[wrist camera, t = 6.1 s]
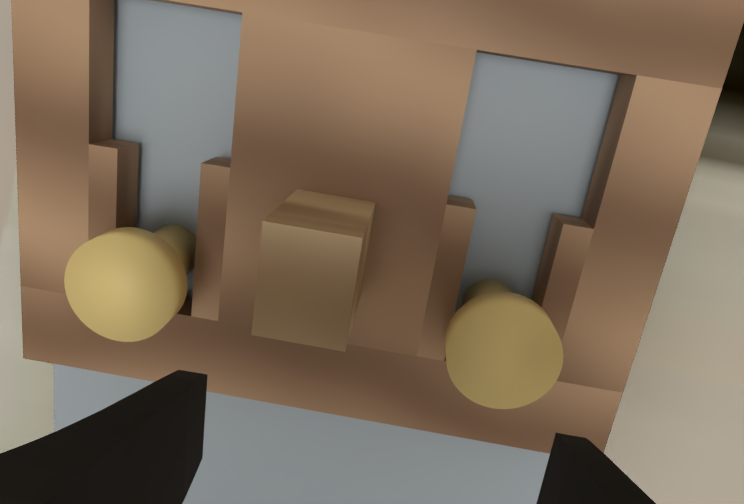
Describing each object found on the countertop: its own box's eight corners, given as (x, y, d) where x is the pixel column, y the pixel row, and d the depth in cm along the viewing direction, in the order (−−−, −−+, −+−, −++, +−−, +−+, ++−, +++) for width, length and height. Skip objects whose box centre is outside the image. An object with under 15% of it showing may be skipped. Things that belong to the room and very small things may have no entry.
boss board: (535, 552, 24) (565, 675, 19) (72, 465, 25) (-15, 563, 20) (708, -18, 18) (821, -54, 13) (69, -116, 18) (-64, -187, 13)
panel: (588, 437, 21) (643, 557, 16) (48, 340, 21) (-71, 424, 16) (742, -55, 16) (897, -117, 11) (38, -161, 16) (-135, -269, 11)
